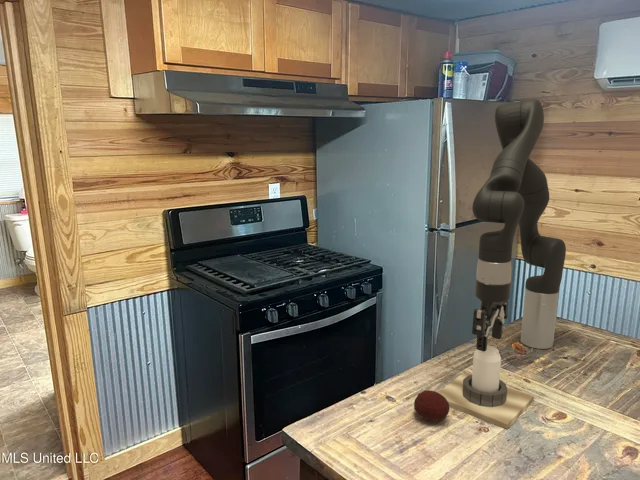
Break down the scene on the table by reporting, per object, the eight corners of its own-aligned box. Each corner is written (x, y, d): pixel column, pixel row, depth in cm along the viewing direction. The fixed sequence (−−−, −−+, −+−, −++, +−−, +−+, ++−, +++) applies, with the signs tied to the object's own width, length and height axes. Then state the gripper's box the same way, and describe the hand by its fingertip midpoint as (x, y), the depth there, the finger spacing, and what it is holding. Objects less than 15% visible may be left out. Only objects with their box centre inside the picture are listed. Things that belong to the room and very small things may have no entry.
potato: (423, 430, 108) (424, 405, 106) (407, 410, 115) (408, 386, 114) (453, 424, 109) (455, 400, 108) (435, 405, 117) (436, 382, 116)
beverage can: (477, 386, 123) (480, 341, 121) (501, 394, 119) (505, 348, 117) (466, 396, 119) (469, 350, 116) (492, 405, 115) (495, 357, 112)
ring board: (464, 376, 131) (465, 361, 130) (533, 400, 119) (535, 384, 118) (433, 400, 119) (434, 384, 118) (507, 429, 108) (508, 412, 107)
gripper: (490, 268, 120) (486, 330, 124) (463, 282, 110) (460, 349, 113) (521, 274, 115) (516, 338, 119) (496, 289, 105) (492, 359, 108)
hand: (489, 343), depth 116 cm, fingers open, 8 cm apart
